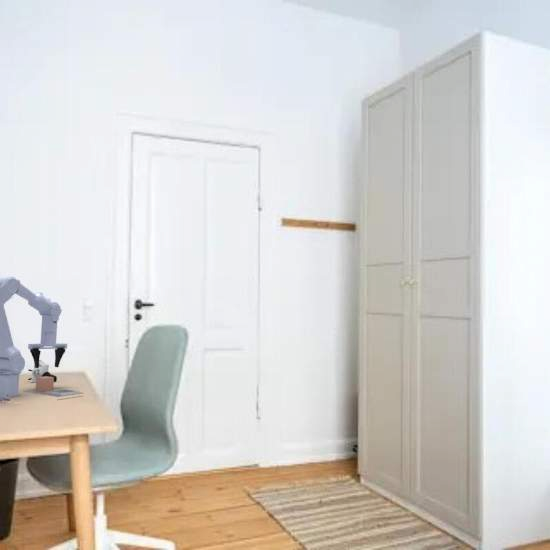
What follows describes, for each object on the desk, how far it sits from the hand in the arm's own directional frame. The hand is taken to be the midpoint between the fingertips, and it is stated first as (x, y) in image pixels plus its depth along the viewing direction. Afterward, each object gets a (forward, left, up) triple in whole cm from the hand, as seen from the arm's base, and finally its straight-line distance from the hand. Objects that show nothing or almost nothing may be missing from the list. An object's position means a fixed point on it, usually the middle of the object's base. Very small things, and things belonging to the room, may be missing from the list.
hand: (46, 367), depth 221 cm
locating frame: (-8, -12, -8) cm, 17 cm away
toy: (+20, +14, -10) cm, 27 cm away
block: (-4, -2, -8) cm, 9 cm away
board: (-6, -7, -10) cm, 13 cm away
